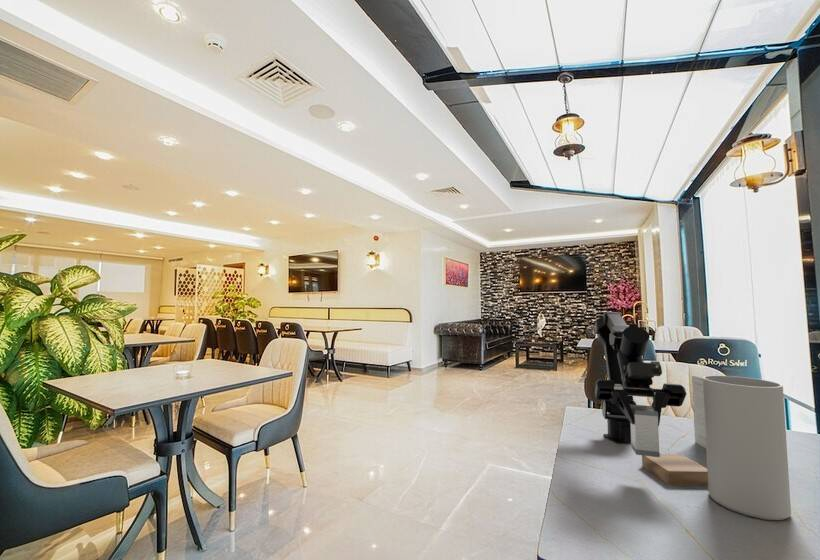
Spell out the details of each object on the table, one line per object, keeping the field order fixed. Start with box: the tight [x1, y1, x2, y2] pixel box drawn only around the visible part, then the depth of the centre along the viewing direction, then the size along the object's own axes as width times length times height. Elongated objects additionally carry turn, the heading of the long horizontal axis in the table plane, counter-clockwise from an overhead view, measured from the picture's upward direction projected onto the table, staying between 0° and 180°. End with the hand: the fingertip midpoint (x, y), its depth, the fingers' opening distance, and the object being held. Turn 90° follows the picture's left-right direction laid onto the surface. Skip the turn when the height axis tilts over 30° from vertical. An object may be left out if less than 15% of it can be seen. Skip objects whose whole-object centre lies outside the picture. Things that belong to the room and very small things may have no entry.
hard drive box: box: [691, 375, 706, 449], centre depth 104 cm, size 16×8×20 cm, turn 169°
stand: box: [641, 453, 708, 486], centre depth 89 cm, size 10×10×3 cm
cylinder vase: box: [703, 375, 792, 521], centre depth 77 cm, size 12×12×25 cm
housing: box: [630, 404, 661, 457], centre depth 87 cm, size 5×5×10 cm
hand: (645, 424), depth 86 cm, fingers closed on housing, 5 cm apart
